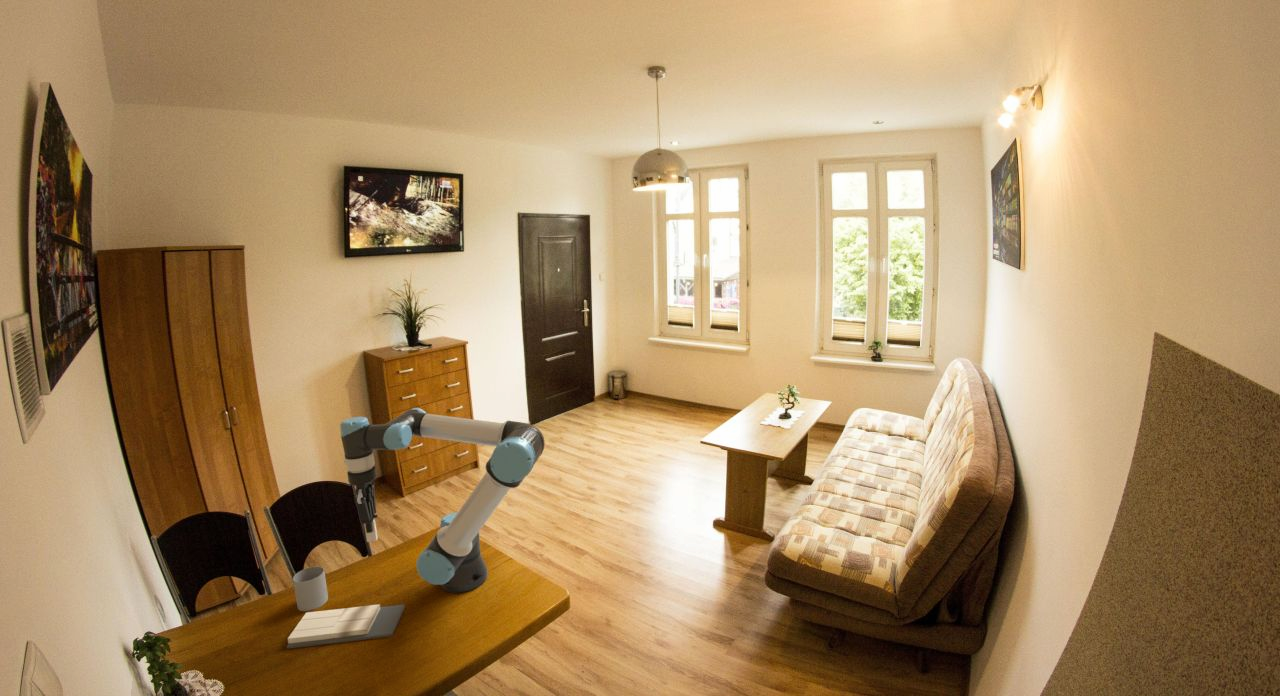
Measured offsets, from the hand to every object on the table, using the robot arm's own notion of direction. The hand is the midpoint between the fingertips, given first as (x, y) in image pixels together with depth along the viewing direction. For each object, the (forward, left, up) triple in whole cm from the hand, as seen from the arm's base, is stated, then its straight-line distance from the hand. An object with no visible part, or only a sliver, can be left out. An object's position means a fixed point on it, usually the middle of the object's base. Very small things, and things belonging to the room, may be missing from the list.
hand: (372, 539), depth 162 cm
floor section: (+6, +10, -22) cm, 25 cm away
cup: (+22, -4, -22) cm, 31 cm away
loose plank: (+3, +10, -21) cm, 23 cm away
